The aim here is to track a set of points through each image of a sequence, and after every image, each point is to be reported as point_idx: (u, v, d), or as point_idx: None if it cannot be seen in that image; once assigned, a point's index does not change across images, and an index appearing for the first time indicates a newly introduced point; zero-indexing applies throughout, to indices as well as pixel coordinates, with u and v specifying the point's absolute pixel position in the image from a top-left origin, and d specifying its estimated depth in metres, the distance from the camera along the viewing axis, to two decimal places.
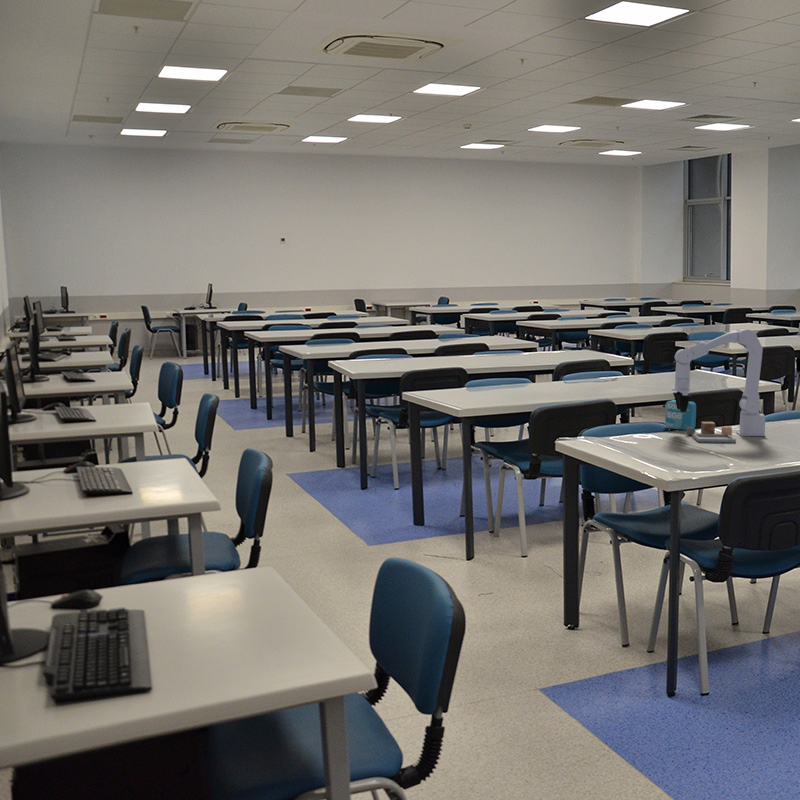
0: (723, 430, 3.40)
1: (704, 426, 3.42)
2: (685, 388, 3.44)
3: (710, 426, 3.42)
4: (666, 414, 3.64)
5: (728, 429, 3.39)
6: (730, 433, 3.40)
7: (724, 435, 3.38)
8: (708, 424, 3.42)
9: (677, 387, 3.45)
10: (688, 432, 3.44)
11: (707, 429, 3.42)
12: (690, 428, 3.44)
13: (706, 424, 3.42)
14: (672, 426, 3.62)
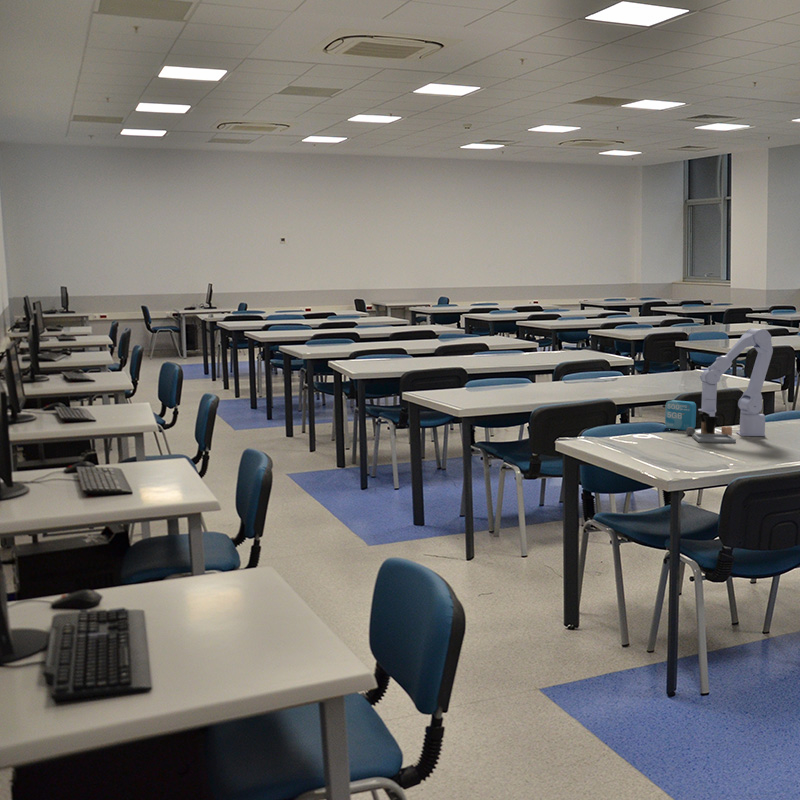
0: (723, 430, 3.40)
1: (704, 426, 3.42)
2: (711, 408, 3.40)
3: None
4: (666, 414, 3.64)
5: (728, 429, 3.39)
6: (730, 433, 3.40)
7: (724, 435, 3.38)
8: None
9: (704, 408, 3.42)
10: (688, 432, 3.44)
11: None
12: (690, 428, 3.44)
13: None
14: (672, 426, 3.62)
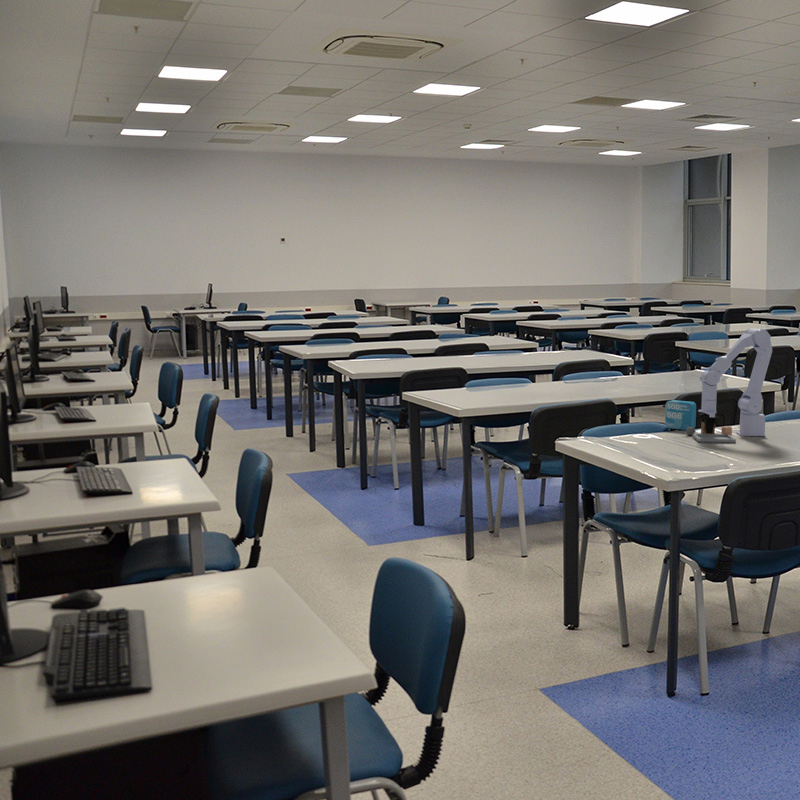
0: (723, 430, 3.40)
1: (704, 426, 3.42)
2: (711, 409, 3.40)
3: None
4: (666, 414, 3.64)
5: (728, 429, 3.39)
6: (730, 433, 3.40)
7: (724, 435, 3.38)
8: None
9: (704, 409, 3.42)
10: (688, 432, 3.44)
11: None
12: (690, 428, 3.44)
13: None
14: (672, 426, 3.62)
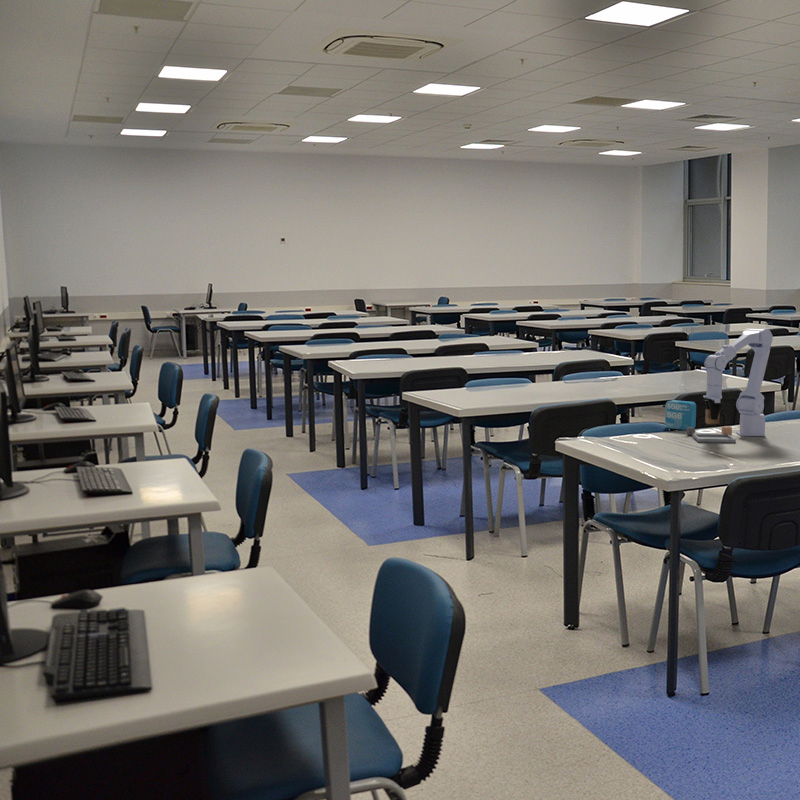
0: (723, 430, 3.40)
1: (708, 413, 3.33)
2: (717, 395, 3.31)
3: None
4: (666, 414, 3.64)
5: (728, 429, 3.39)
6: (730, 433, 3.40)
7: (724, 435, 3.38)
8: None
9: (709, 394, 3.32)
10: (688, 432, 3.44)
11: None
12: (690, 428, 3.44)
13: None
14: (672, 426, 3.62)
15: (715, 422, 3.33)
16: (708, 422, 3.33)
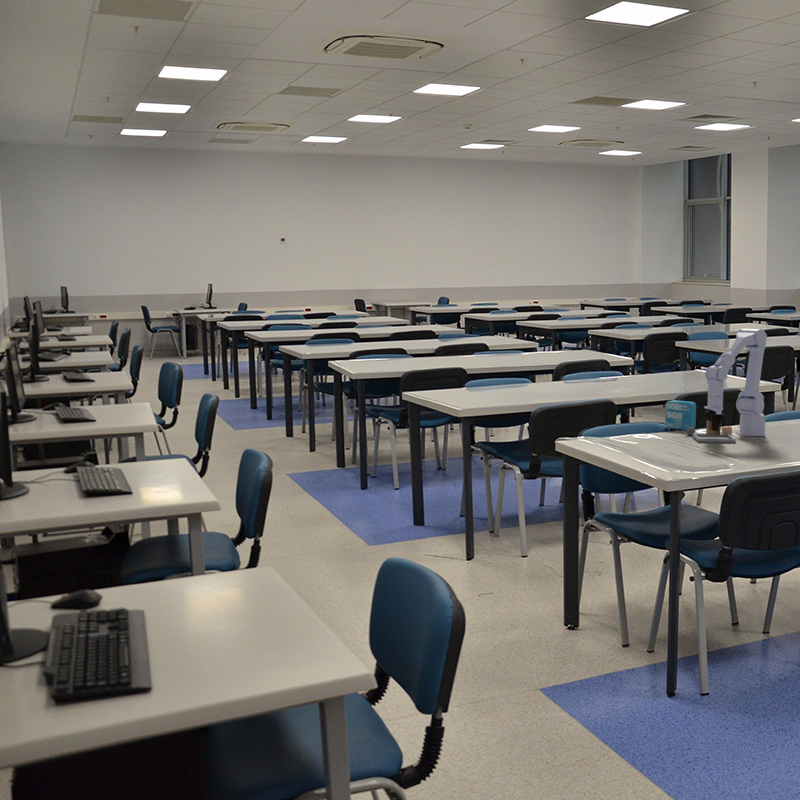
0: (723, 430, 3.40)
1: (709, 424, 3.31)
2: (718, 406, 3.29)
3: None
4: (666, 414, 3.64)
5: (728, 429, 3.39)
6: (730, 433, 3.40)
7: (724, 435, 3.38)
8: None
9: (710, 405, 3.31)
10: (688, 432, 3.44)
11: None
12: (690, 428, 3.44)
13: (711, 422, 3.31)
14: (672, 426, 3.62)
15: (716, 433, 3.31)
16: (709, 433, 3.32)
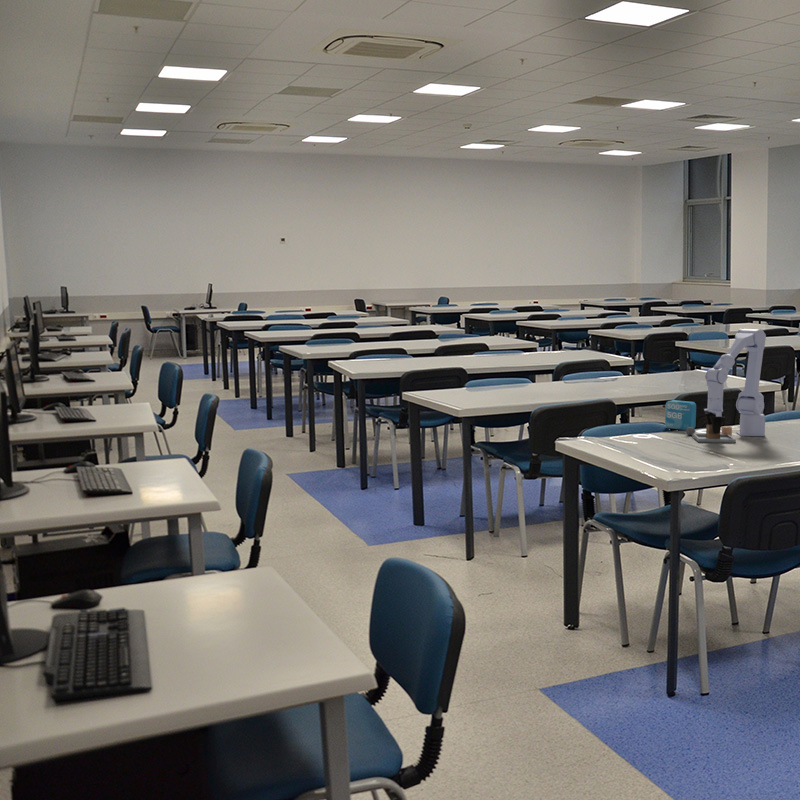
0: (723, 430, 3.40)
1: (709, 429, 3.32)
2: (718, 408, 3.29)
3: None
4: (666, 414, 3.64)
5: (728, 429, 3.39)
6: (730, 433, 3.40)
7: (724, 435, 3.38)
8: None
9: (710, 407, 3.31)
10: (688, 432, 3.44)
11: (712, 432, 3.32)
12: (690, 428, 3.44)
13: (711, 427, 3.31)
14: (672, 426, 3.62)
15: (716, 438, 3.32)
16: (709, 438, 3.32)
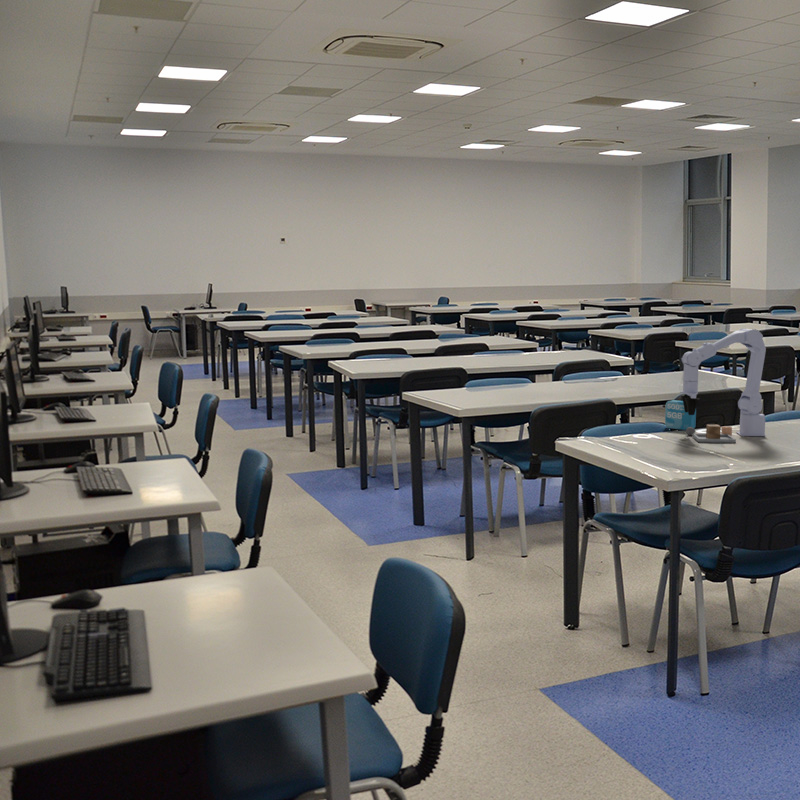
0: (723, 430, 3.40)
1: (709, 429, 3.32)
2: (693, 390, 3.39)
3: (715, 429, 3.31)
4: (666, 414, 3.64)
5: (728, 429, 3.39)
6: (730, 433, 3.40)
7: (724, 435, 3.38)
8: (713, 427, 3.31)
9: (685, 390, 3.40)
10: (688, 432, 3.44)
11: (712, 432, 3.32)
12: (690, 428, 3.44)
13: (711, 427, 3.31)
14: (672, 426, 3.62)
15: (716, 438, 3.32)
16: (709, 438, 3.32)
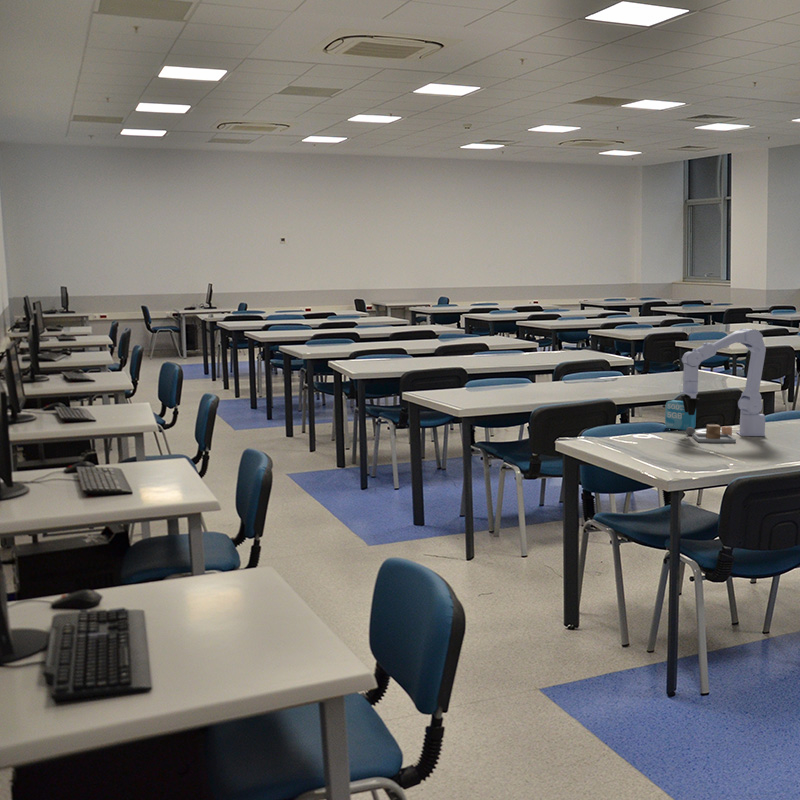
0: (723, 430, 3.40)
1: (709, 429, 3.32)
2: (693, 390, 3.39)
3: (715, 429, 3.31)
4: (666, 414, 3.64)
5: (728, 429, 3.39)
6: (730, 433, 3.40)
7: (724, 435, 3.38)
8: (713, 427, 3.31)
9: (685, 390, 3.40)
10: (688, 432, 3.44)
11: (712, 432, 3.32)
12: (690, 428, 3.44)
13: (711, 427, 3.31)
14: (672, 426, 3.62)
15: (716, 438, 3.32)
16: (709, 438, 3.32)
